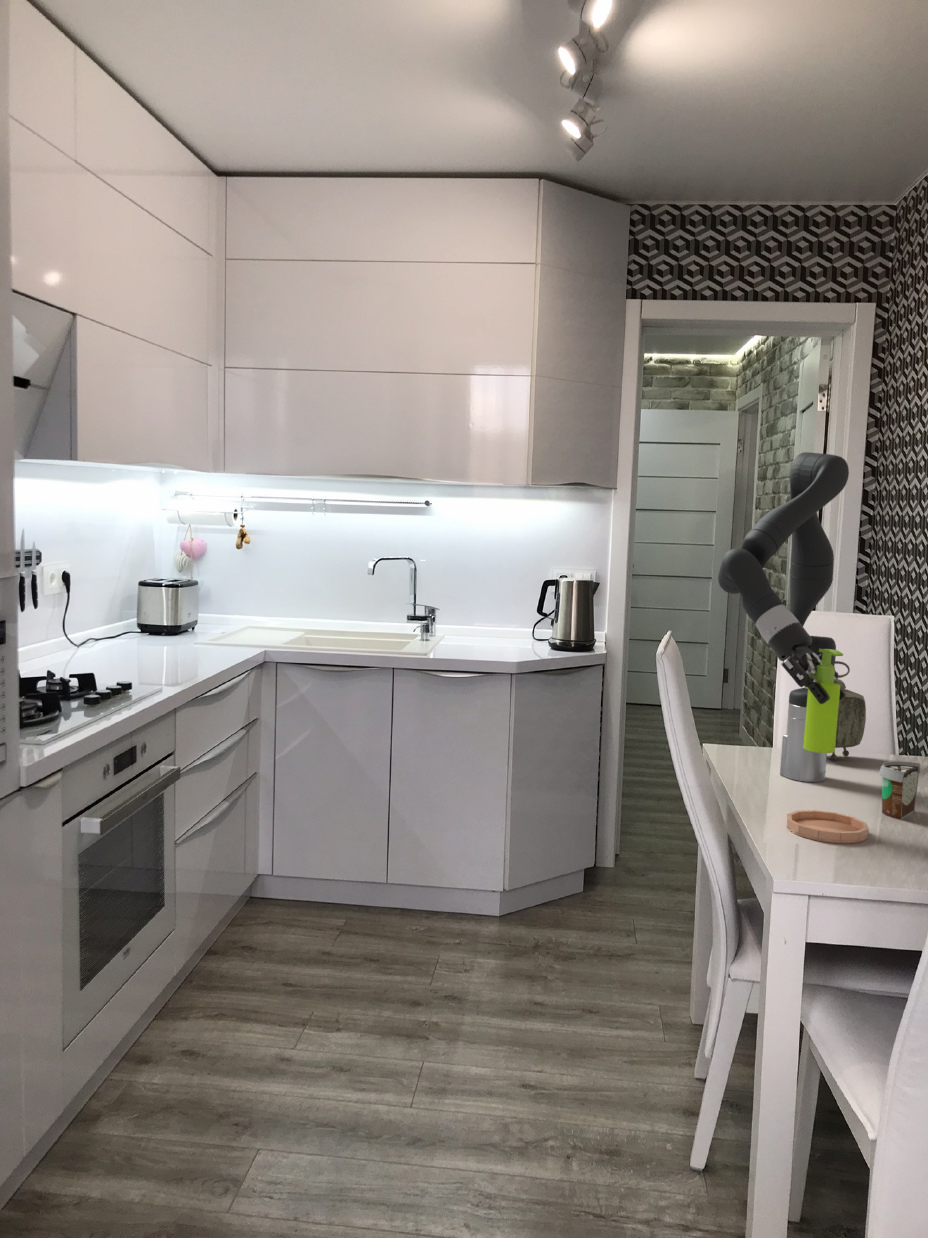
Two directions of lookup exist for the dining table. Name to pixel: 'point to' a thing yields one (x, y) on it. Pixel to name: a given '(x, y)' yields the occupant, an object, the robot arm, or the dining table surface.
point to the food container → (899, 788)
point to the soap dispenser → (823, 709)
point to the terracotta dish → (827, 826)
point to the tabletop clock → (849, 718)
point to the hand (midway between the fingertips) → (833, 699)
